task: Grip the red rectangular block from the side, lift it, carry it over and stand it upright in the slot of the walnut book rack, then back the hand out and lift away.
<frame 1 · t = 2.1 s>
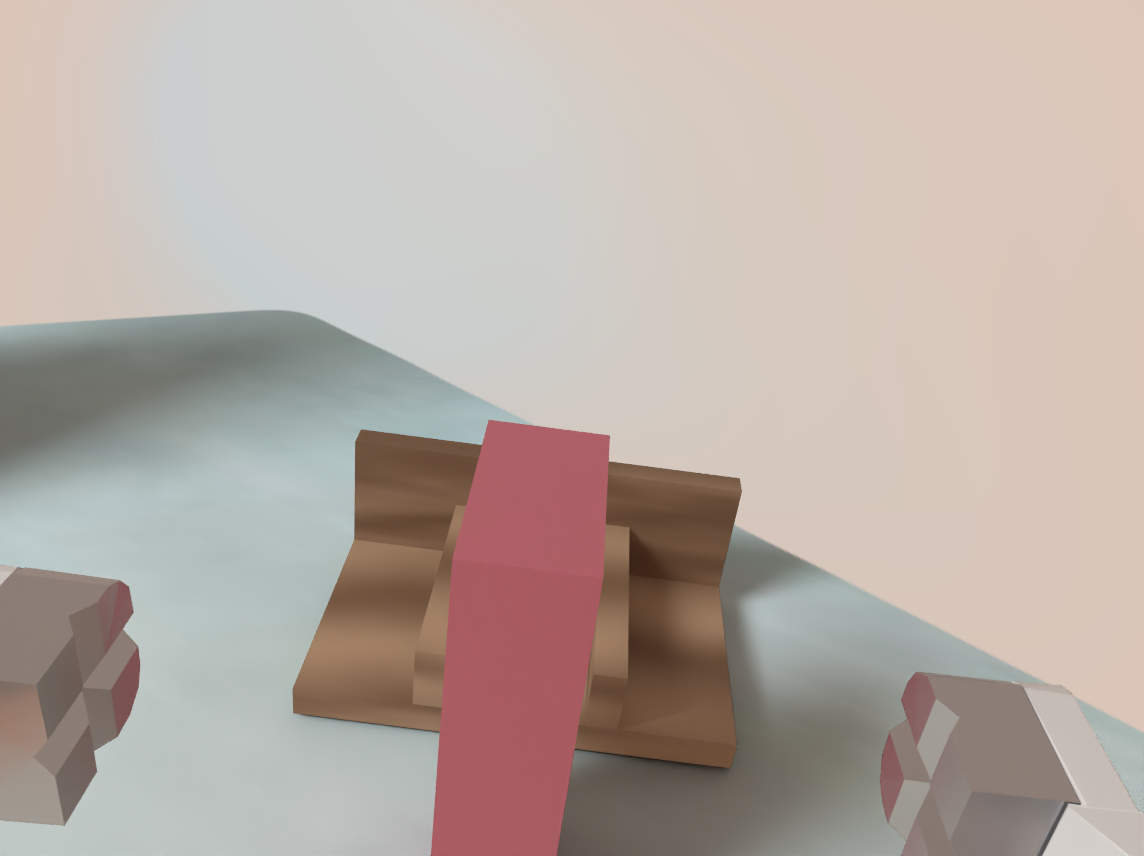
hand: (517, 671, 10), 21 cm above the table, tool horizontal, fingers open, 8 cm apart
book rack: (525, 646, 41), on the table
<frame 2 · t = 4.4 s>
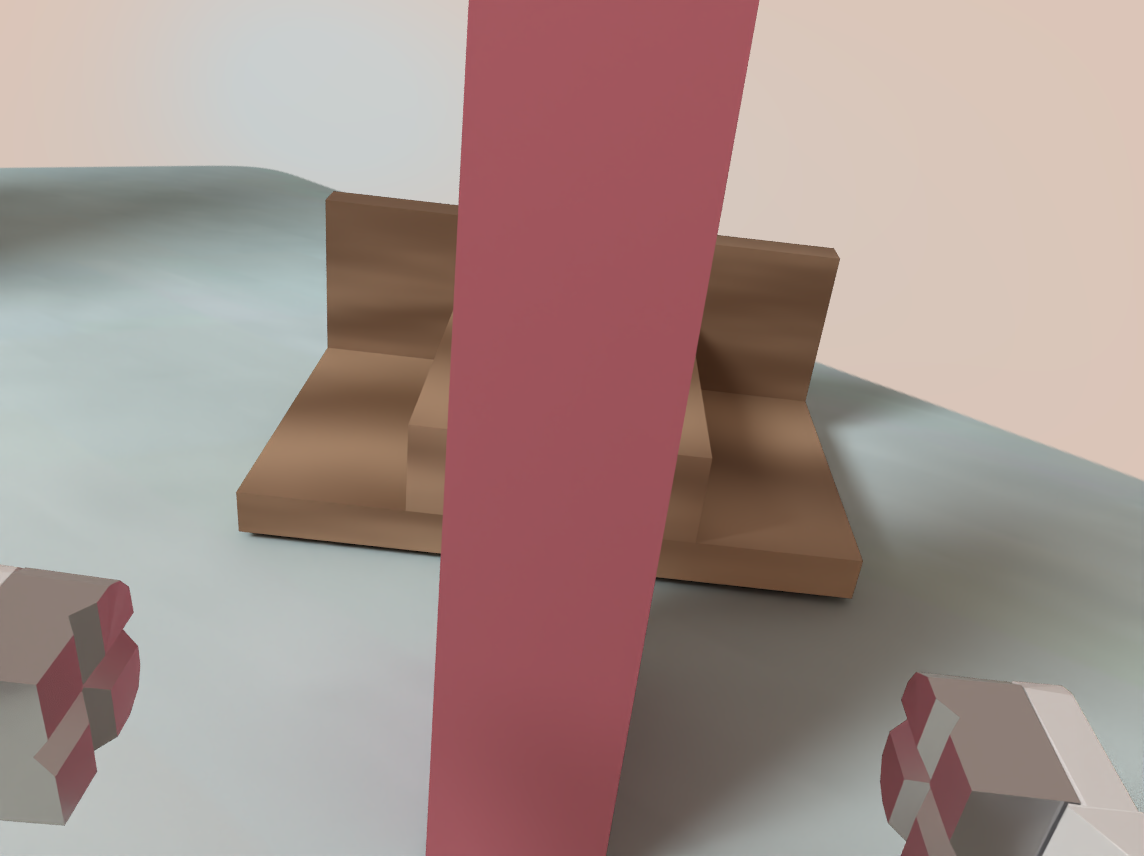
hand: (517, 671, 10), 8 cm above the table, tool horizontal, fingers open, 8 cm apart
book rack: (557, 466, 30), on the table
red rectangular block: (527, 740, 21), on the table
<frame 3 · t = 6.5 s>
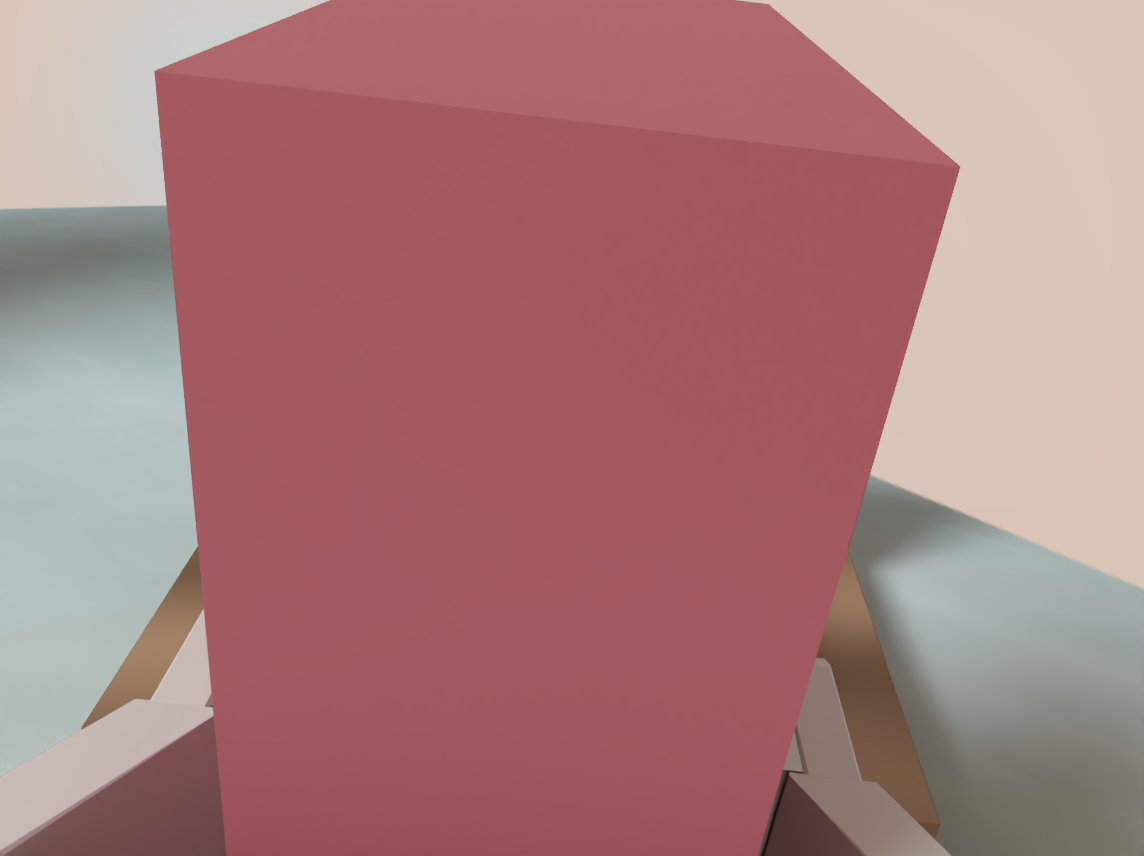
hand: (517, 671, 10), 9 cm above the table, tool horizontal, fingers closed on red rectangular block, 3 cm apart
book rack: (529, 645, 23), on the table
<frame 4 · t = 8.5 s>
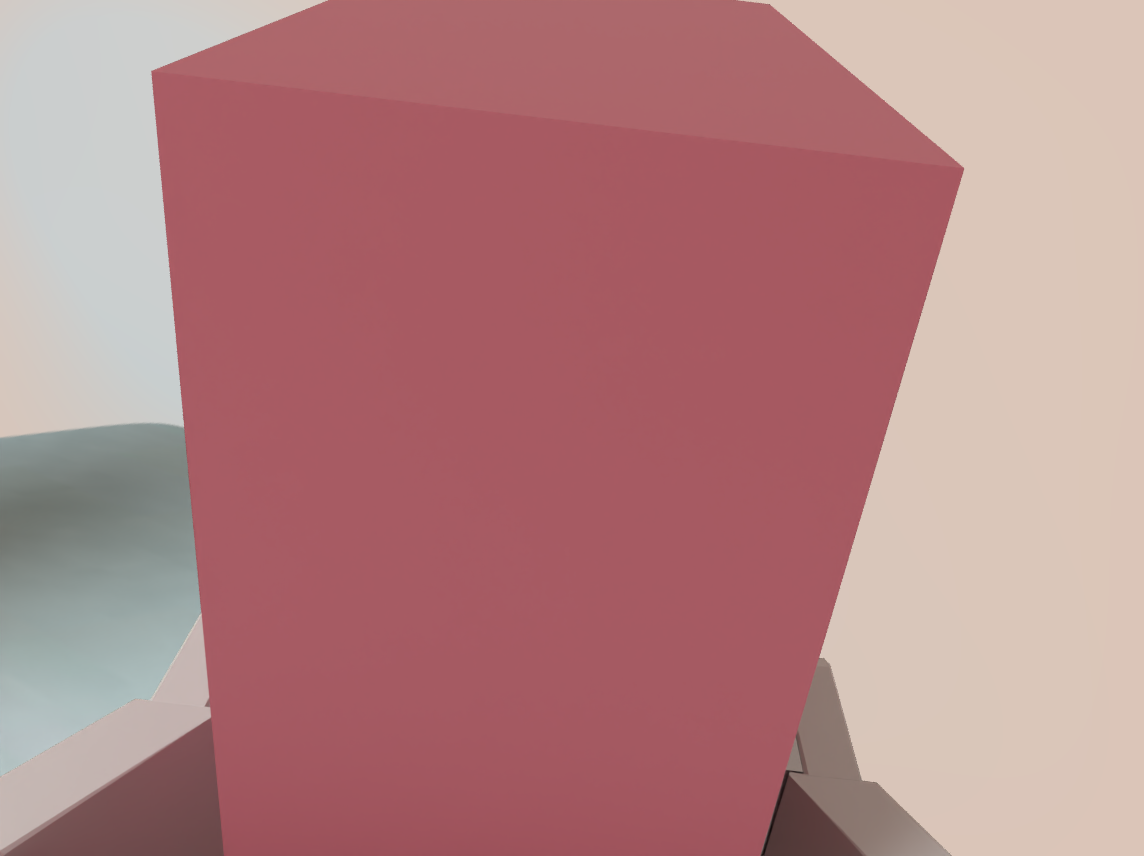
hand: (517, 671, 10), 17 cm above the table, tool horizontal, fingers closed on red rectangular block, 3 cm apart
when the fingers open (11 cm above the table, at t = 10.5 s): red rectangular block drops 1 cm, resting on book rack.
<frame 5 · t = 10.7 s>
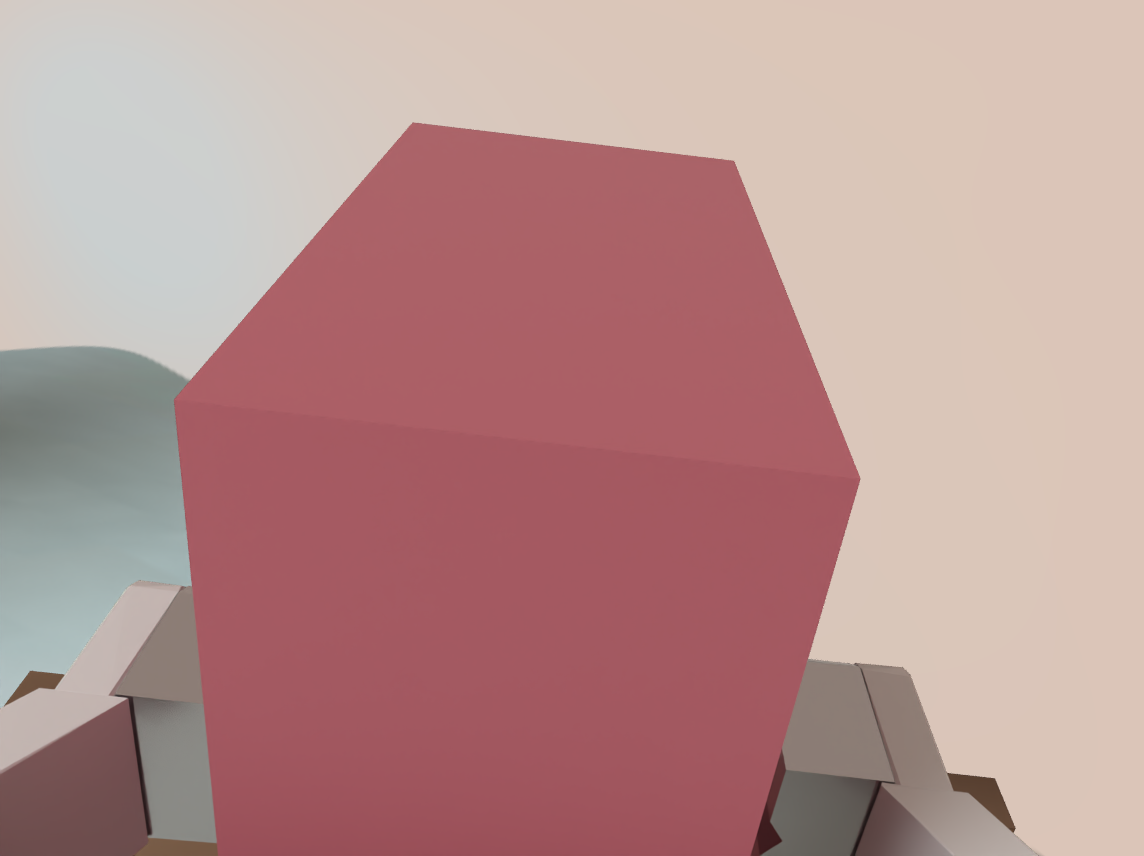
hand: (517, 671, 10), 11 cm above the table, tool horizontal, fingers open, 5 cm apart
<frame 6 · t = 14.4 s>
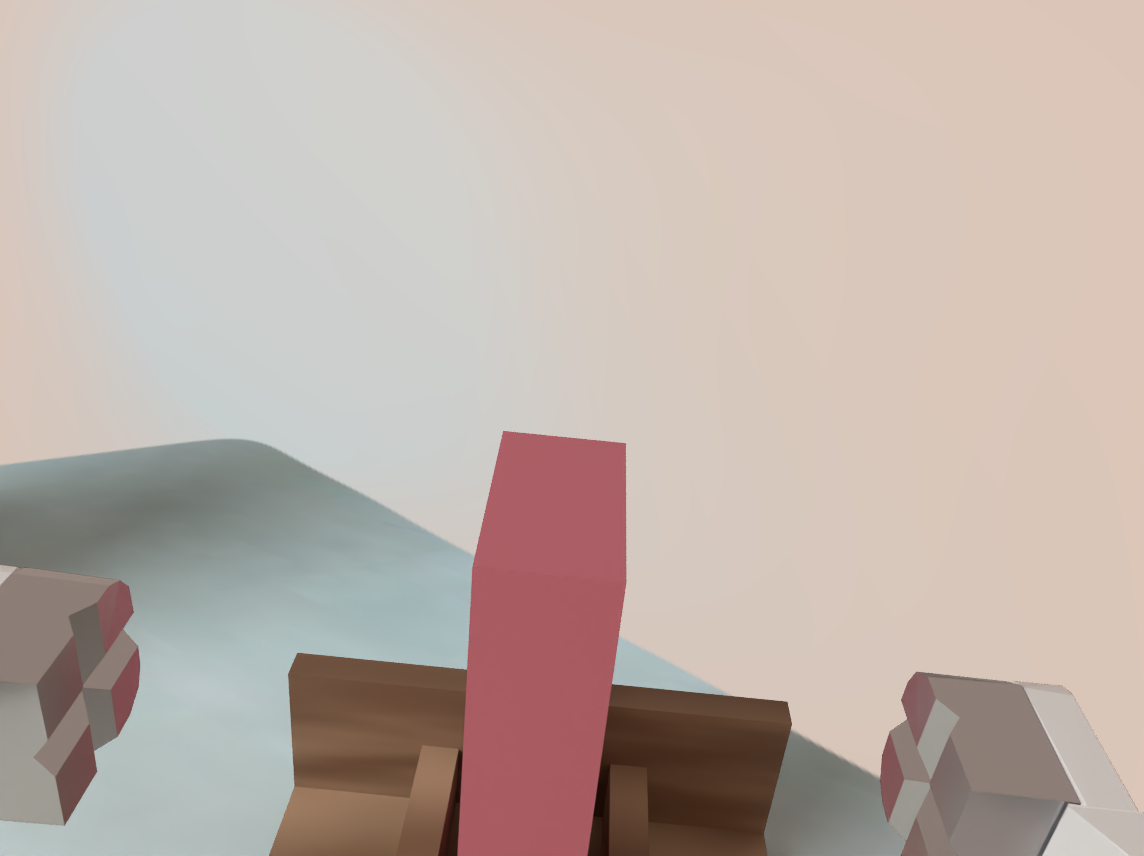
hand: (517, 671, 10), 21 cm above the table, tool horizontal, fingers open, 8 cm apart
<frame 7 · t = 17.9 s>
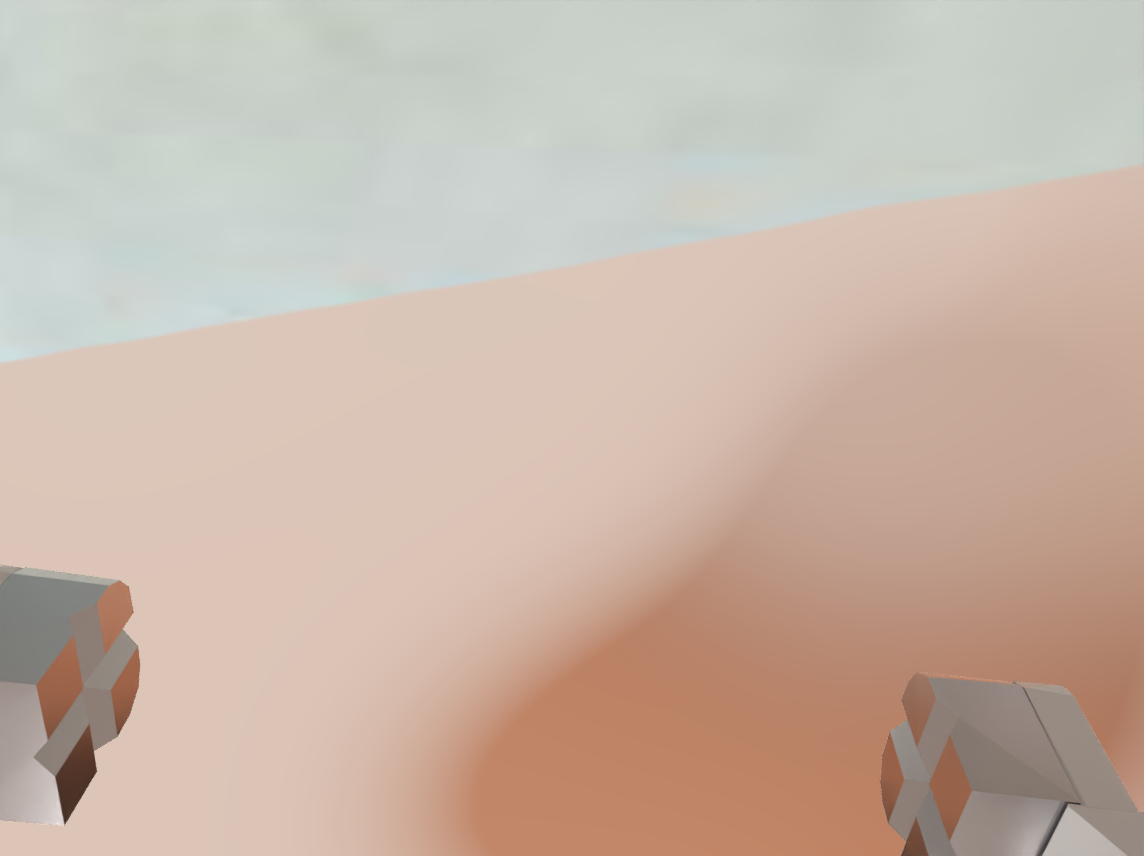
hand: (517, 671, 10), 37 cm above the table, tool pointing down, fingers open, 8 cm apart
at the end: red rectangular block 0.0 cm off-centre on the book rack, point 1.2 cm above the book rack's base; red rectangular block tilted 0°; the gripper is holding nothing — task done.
